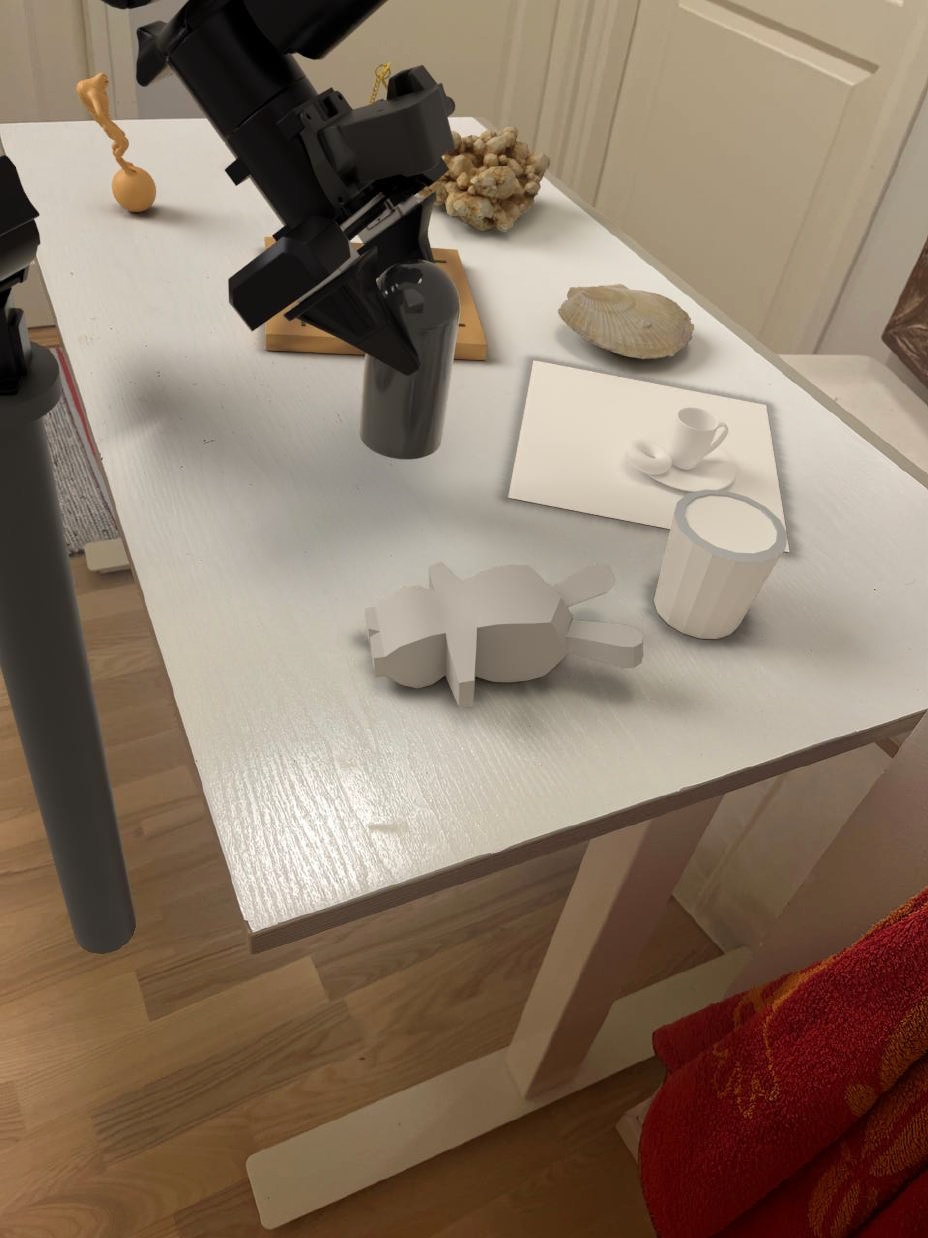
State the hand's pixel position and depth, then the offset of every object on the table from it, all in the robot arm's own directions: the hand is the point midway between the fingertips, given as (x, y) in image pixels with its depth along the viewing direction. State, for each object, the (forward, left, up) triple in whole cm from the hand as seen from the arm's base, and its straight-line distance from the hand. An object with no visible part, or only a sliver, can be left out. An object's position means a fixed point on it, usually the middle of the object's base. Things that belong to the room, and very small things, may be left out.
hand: (431, 350), depth 60 cm
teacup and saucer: (+19, +7, -12) cm, 24 cm away
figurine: (-23, +44, -12) cm, 51 cm away
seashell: (+21, +24, -12) cm, 34 cm away
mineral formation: (+13, +50, -12) cm, 53 cm away
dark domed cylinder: (-1, +1, -7) cm, 7 cm away
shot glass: (+17, -11, -12) cm, 23 cm away
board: (-1, +28, -11) cm, 31 cm away
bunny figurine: (+3, -15, -12) cm, 19 cm away
